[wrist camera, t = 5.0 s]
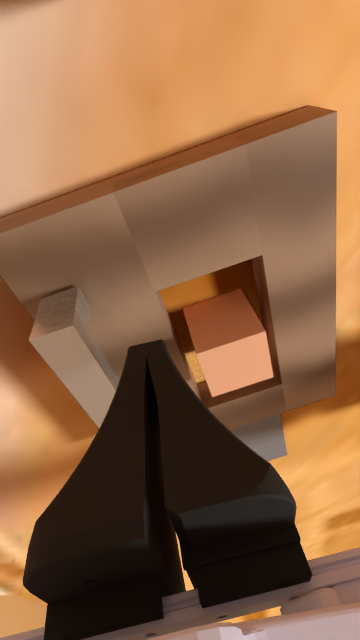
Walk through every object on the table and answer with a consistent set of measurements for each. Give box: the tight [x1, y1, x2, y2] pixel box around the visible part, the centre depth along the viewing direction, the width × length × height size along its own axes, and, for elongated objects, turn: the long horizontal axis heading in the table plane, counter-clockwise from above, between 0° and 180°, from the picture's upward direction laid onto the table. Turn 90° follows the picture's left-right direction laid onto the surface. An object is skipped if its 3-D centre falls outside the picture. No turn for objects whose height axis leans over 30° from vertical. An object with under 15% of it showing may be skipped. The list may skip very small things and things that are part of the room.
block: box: [183, 289, 274, 397], centre depth 22 cm, size 4×4×4 cm
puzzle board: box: [0, 105, 337, 430], centre depth 22 cm, size 20×16×2 cm
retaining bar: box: [29, 286, 120, 428], centre depth 20 cm, size 15×2×3 cm, turn 17°
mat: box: [230, 414, 287, 461], centre depth 32 cm, size 10×10×1 cm
